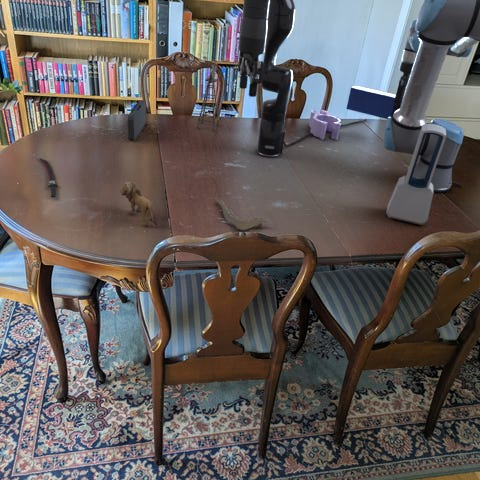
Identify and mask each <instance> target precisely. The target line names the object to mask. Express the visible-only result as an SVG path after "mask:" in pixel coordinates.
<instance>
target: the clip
mask: <svg viewBox="0 0 480 480" xmlns="http://www.w3.org/2000/svg"><path fill="white" fill-rule="evenodd" d="M341 122H342V120H341V118H339V117H337V116H335V115H332V114H330V112H329V111H327V110H325V109H320V112H319V113H318V112H317V109H311V110H310V115H309V122H308V127H309V128H310V131H309V132H310V133H309V134H311V133H313V135H312V136H314V137H316V138H319V139H320V140H323V141H324V140H325V137H326V132H330V133H331V136H330V138H331V139H333V140H335V141H338V139H339V135H340V130H341V127H342V126H341V125H342V124H341ZM340 126H341V127H340Z"/></svg>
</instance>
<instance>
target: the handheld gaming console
mask: <svg viewBox="0 0 480 480" xmlns="http://www.w3.org/2000/svg"><path fill="white" fill-rule="evenodd" d="M146 103H147V102H146V100H144V99H143V100H142V99H140V100H138V102H137V103H135V105H134V107H133V108H132V109H131V110H130V112H129V113H128V115H127V138H128V140H130V141H135V140H137V138H138V136H139V134H140V133H141V132H142V130H143V128H144V126H145V125H146V122H147V107H146V106H147V104H146Z"/></svg>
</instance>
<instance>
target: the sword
mask: <svg viewBox="0 0 480 480" xmlns="http://www.w3.org/2000/svg"><path fill="white" fill-rule="evenodd" d="M40 161H41V162H42V163H43V165H44V166H45V169H46V173H47V176H48V185H47V188H50V198H56V197H57V189H56V188H57V187H59V185H58V184H57V183H56V180H55V176H54V172H53V169H52V167H51V164H50V163H49V161H48V160H46V159H43V158H40Z"/></svg>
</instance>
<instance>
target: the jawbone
mask: <svg viewBox="0 0 480 480" xmlns="http://www.w3.org/2000/svg"><path fill="white" fill-rule="evenodd" d="M216 203H217V204H218V205H219V206H220V208H221V210H222V213H223V217H224V219H225V220H226V222H228V224H230V225H232V226H233V227H235V228H236V229H237V230H238V231H241V232H242V231H243V232H244V231H248V230H249V229H252V228H254V227H255V228H256V227H257V228H258V229H261V228H262V226H263V223H262V222H264V223H268V222H270V220H269V219H267V218H265V217H258V218H252V219H250V220H243V219H241V218H240V217H239V216H237V215H236V214H235V213H234V212H233V209H232V208H228V207H227V206H226V203H224V200H223V199H222V198H217V199H216Z"/></svg>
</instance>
